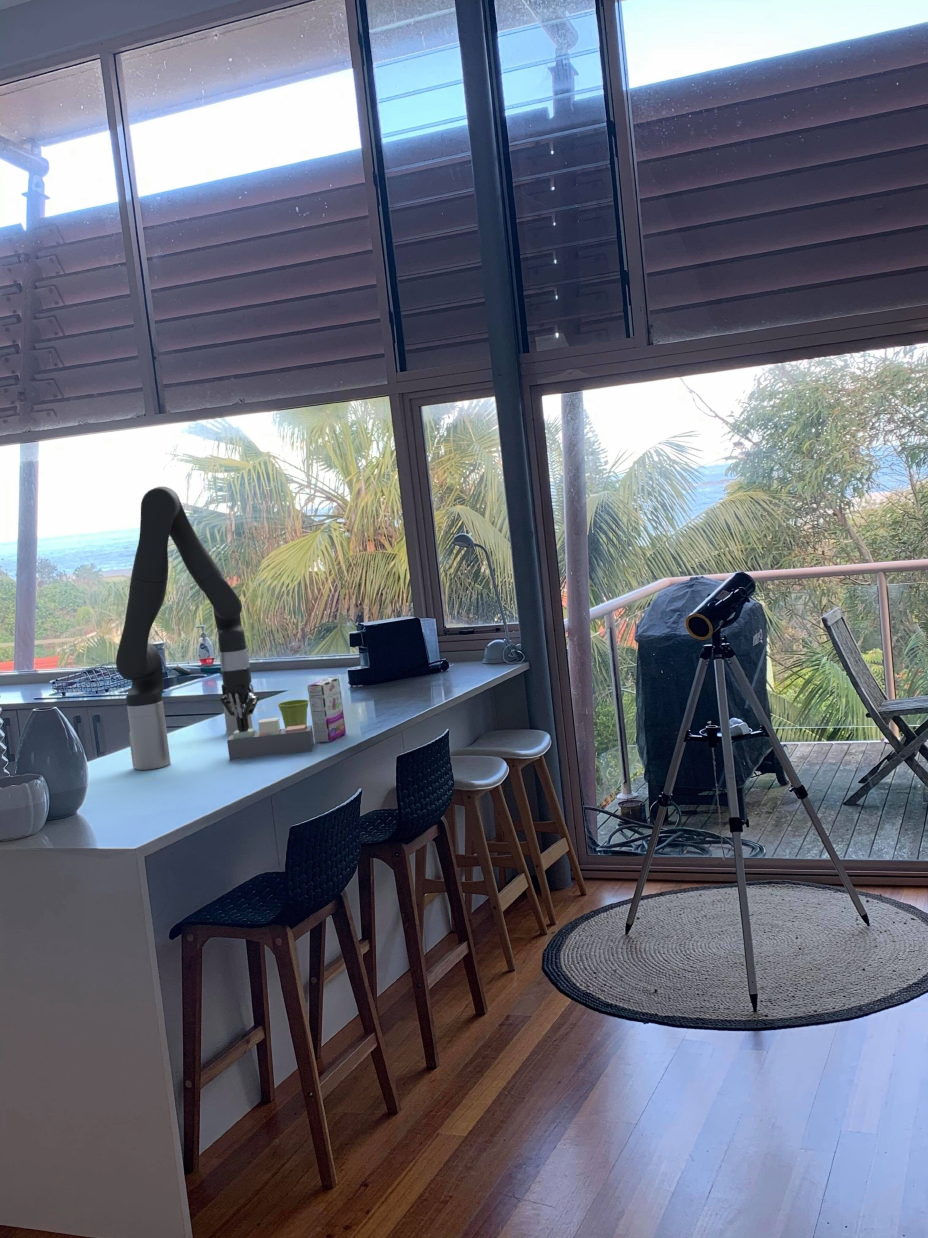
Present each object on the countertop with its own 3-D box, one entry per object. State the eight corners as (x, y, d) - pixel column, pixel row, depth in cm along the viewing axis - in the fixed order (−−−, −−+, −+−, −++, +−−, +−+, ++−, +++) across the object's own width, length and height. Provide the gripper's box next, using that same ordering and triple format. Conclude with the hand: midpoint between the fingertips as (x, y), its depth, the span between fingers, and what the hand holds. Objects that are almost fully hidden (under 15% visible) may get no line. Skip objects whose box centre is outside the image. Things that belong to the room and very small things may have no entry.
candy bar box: (330, 734, 326) (324, 678, 324) (346, 734, 324) (340, 677, 323) (313, 743, 315) (306, 684, 314) (329, 742, 314) (322, 683, 312)
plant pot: (315, 726, 342) (312, 698, 341) (308, 733, 333) (305, 703, 332) (285, 729, 343) (281, 701, 342) (277, 735, 334) (273, 706, 333)
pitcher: (219, 735, 344) (213, 686, 343) (245, 726, 358) (239, 678, 356) (244, 734, 341) (238, 685, 340) (269, 725, 354) (263, 677, 353)
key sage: (235, 752, 304) (232, 733, 304) (237, 748, 309) (235, 730, 309) (254, 750, 305) (251, 731, 304) (255, 746, 310) (253, 728, 309)
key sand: (260, 741, 305) (258, 722, 304) (262, 737, 310) (260, 719, 309) (279, 738, 305) (277, 720, 305) (280, 735, 310) (278, 717, 309)
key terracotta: (288, 748, 305) (285, 730, 305) (289, 744, 310) (287, 726, 310) (306, 746, 306) (304, 727, 305) (307, 742, 311) (305, 724, 310)
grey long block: (229, 760, 303) (226, 738, 302) (233, 754, 311) (230, 733, 310) (312, 750, 304) (310, 729, 304) (314, 745, 312) (311, 724, 312)
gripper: (208, 670, 306) (216, 733, 307) (242, 669, 298) (250, 734, 299) (229, 665, 312) (237, 727, 313) (262, 664, 304) (271, 728, 305)
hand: (243, 731), depth 306 cm, fingers closed
